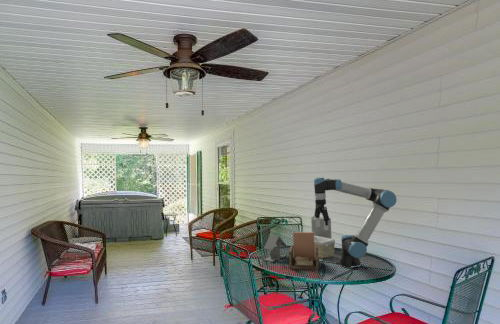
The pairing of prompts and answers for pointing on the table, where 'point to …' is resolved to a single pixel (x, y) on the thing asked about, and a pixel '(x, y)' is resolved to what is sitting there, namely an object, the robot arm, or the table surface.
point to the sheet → (304, 244)
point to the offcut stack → (303, 261)
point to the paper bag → (321, 228)
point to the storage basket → (324, 246)
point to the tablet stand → (270, 245)
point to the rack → (292, 266)
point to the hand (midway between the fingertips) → (322, 228)
